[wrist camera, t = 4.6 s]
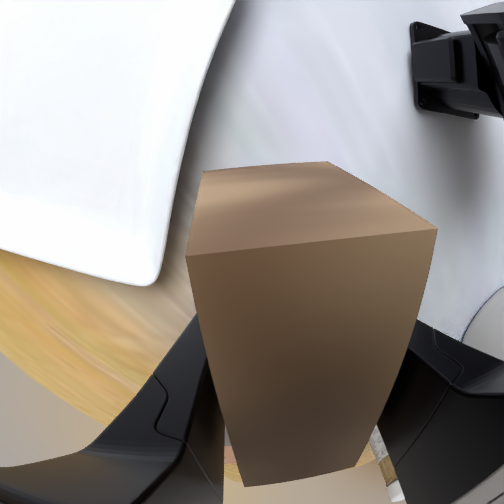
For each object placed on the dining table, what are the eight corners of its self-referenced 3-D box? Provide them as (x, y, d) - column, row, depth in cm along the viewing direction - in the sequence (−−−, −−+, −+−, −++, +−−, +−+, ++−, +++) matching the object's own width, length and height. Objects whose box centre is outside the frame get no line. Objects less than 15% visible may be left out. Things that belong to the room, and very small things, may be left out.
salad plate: (165, 268, 21) (157, 296, 18) (-50, 212, 16) (-73, 228, 13) (254, -34, 12) (262, -58, 9) (-6, -29, 7) (-29, -38, 4)
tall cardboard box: (366, 160, 8) (488, 223, 4) (332, 417, 14) (358, 495, 10) (158, 177, 8) (92, 266, 4) (220, 434, 14) (226, 518, 9)
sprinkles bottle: (385, 402, 31) (425, 490, 20) (351, 412, 31) (386, 507, 19) (392, 380, 29) (441, 476, 17) (356, 391, 29) (398, 496, 17)
